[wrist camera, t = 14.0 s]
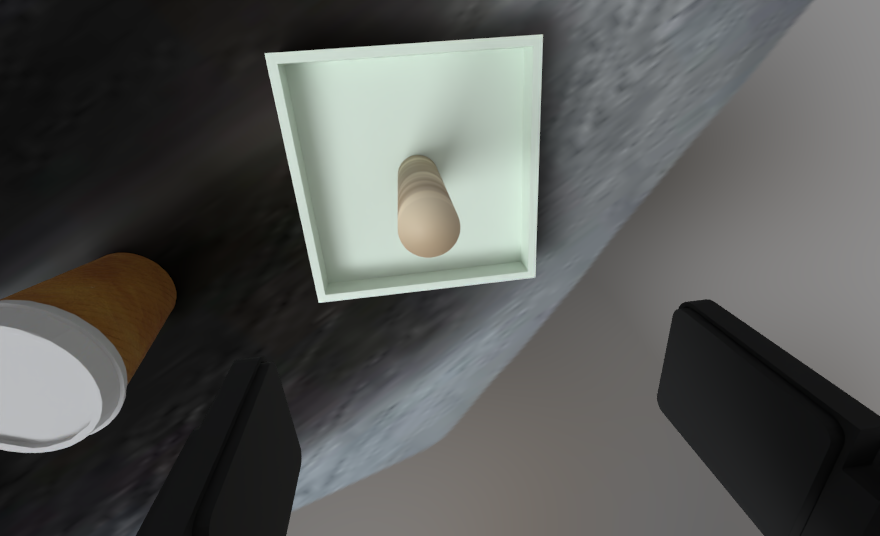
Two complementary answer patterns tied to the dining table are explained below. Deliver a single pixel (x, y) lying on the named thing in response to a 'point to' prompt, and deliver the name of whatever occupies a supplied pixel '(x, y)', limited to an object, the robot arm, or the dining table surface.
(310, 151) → the tray
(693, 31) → the dining table surface
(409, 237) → the wooden pin
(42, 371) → the disposable coffee cup
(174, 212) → the dining table surface
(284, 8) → the dining table surface
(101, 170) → the dining table surface
